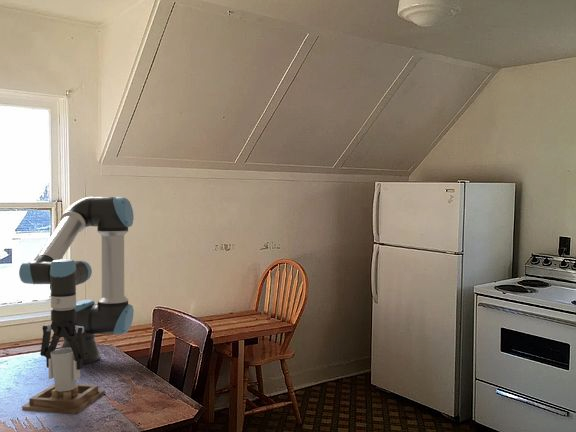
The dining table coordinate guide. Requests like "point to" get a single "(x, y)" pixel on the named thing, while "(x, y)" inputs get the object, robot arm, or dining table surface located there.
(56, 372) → the cup
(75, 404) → the peg stand
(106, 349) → the dining table surface
